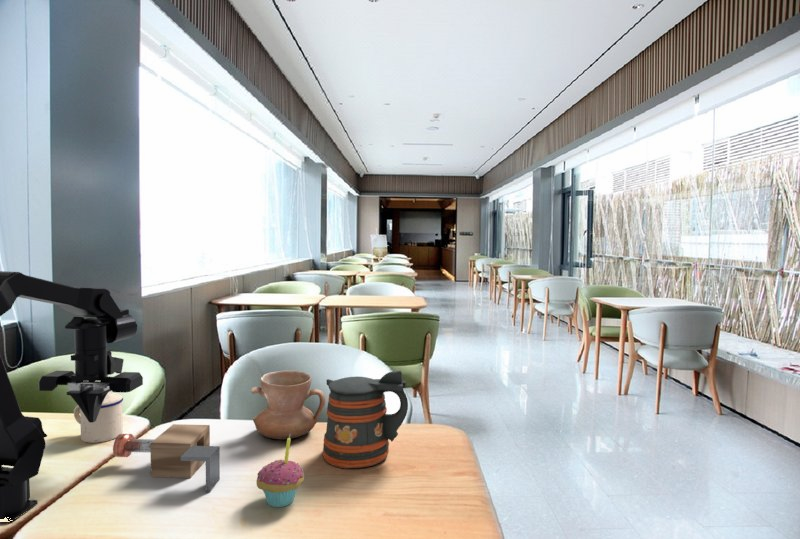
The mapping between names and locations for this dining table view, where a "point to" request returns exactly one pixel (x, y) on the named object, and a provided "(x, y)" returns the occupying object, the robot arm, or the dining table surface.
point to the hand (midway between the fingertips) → (92, 421)
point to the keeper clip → (212, 462)
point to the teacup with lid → (102, 420)
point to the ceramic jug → (286, 405)
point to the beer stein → (362, 420)
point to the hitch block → (177, 450)
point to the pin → (130, 445)
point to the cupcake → (280, 480)
